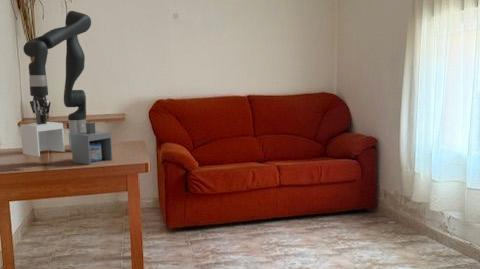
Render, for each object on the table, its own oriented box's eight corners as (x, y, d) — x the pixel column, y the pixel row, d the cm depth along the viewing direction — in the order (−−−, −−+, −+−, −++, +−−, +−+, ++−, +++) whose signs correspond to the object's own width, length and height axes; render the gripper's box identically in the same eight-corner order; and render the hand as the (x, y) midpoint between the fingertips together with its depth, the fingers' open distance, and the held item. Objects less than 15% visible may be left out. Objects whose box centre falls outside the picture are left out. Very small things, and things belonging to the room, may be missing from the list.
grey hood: (23, 153, 216) (19, 113, 213) (48, 149, 227) (45, 111, 224) (38, 156, 208) (35, 114, 206) (65, 151, 219) (61, 112, 216)
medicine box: (85, 162, 222) (83, 144, 221) (83, 161, 226) (82, 143, 225) (102, 160, 225) (101, 143, 224) (100, 159, 229) (99, 142, 228)
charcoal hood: (72, 161, 224) (70, 123, 222) (95, 157, 235) (93, 120, 232) (89, 164, 216) (87, 125, 214) (112, 160, 227) (110, 122, 224)
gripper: (22, 85, 214) (25, 123, 217) (39, 85, 206) (42, 124, 208) (37, 85, 220) (40, 121, 223) (54, 85, 212) (57, 122, 214)
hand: (41, 122), depth 215 cm, fingers closed on grey hood, 3 cm apart
